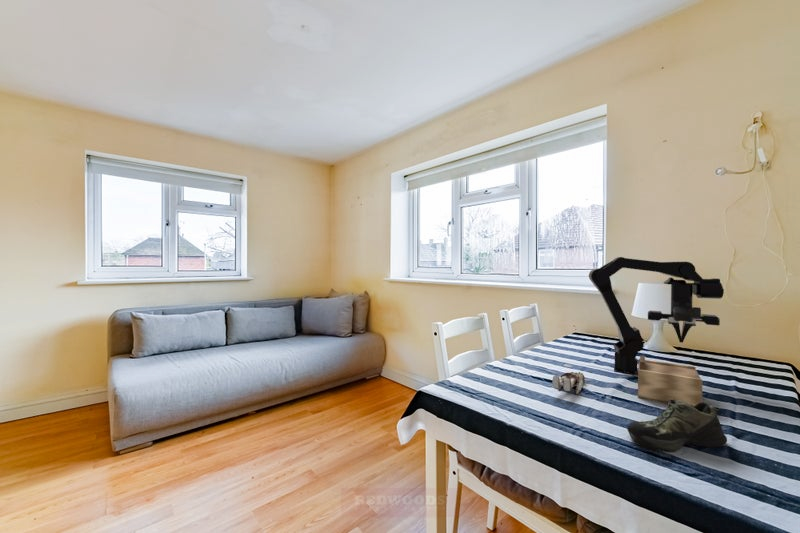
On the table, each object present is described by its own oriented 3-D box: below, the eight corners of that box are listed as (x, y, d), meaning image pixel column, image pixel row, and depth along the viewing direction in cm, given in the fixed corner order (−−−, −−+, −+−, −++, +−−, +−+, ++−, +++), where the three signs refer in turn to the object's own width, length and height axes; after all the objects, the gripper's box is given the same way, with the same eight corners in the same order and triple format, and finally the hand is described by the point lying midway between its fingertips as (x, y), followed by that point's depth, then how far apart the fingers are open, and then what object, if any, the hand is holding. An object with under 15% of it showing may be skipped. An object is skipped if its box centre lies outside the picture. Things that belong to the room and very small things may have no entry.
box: (638, 397, 97) (638, 369, 97) (638, 383, 109) (638, 358, 109) (701, 410, 89) (702, 379, 89) (694, 393, 100) (695, 366, 100)
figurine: (550, 374, 99) (570, 366, 113) (549, 393, 98) (569, 383, 113) (572, 379, 95) (590, 370, 109) (571, 399, 94) (590, 387, 109)
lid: (638, 373, 98) (638, 362, 98) (638, 363, 108) (638, 354, 108) (701, 383, 90) (701, 372, 90) (695, 372, 99) (695, 361, 99)
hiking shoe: (614, 434, 77) (615, 394, 77) (695, 428, 80) (696, 390, 79) (646, 455, 69) (646, 411, 68) (735, 448, 71) (736, 405, 71)
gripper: (648, 297, 114) (647, 342, 114) (723, 301, 103) (722, 351, 103) (647, 295, 123) (647, 337, 123) (716, 298, 112) (716, 344, 112)
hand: (681, 342), depth 115 cm, fingers closed
